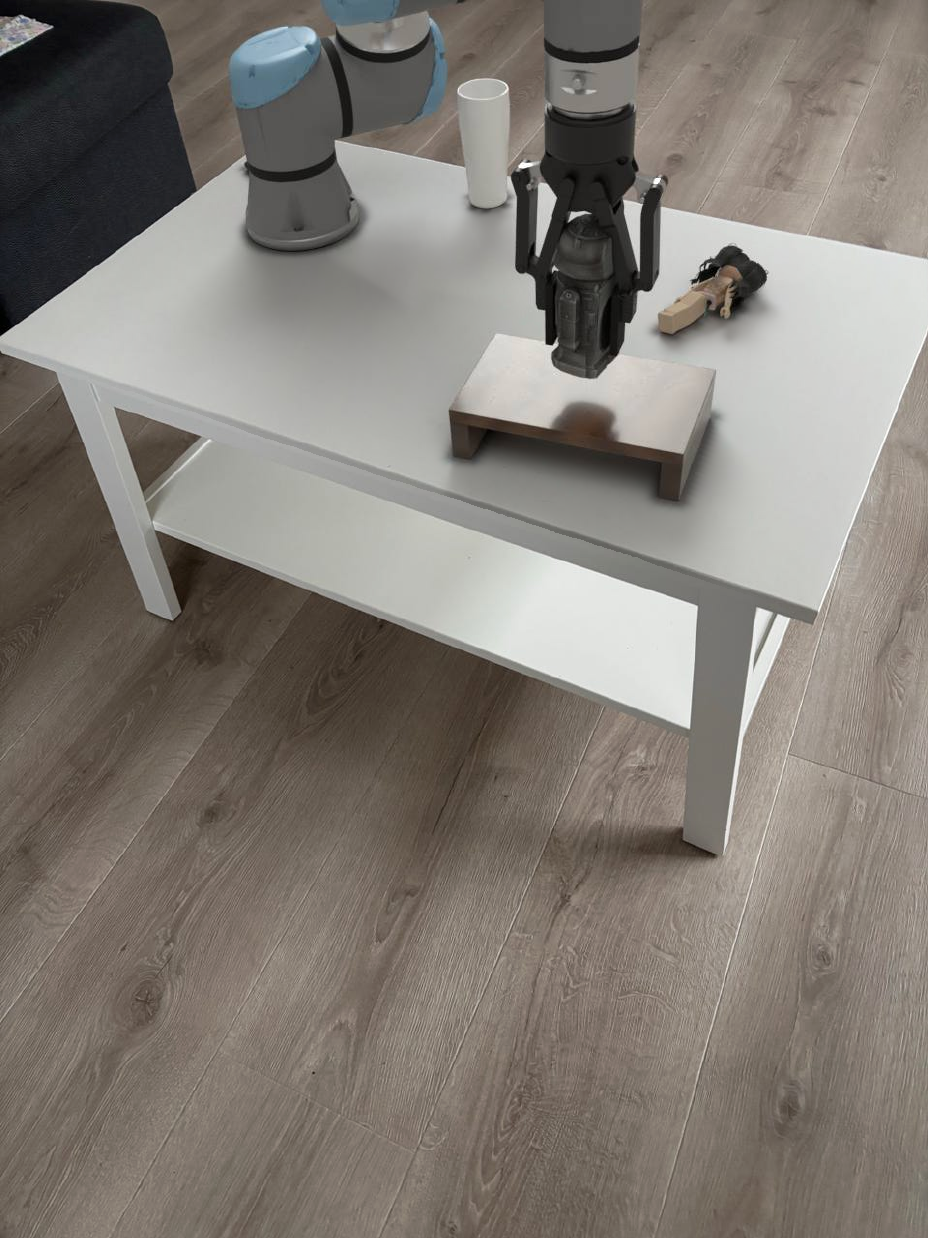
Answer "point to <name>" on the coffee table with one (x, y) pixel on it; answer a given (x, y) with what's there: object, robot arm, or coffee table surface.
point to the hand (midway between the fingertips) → (584, 342)
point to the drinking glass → (485, 139)
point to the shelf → (587, 406)
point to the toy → (583, 298)
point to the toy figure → (715, 289)
